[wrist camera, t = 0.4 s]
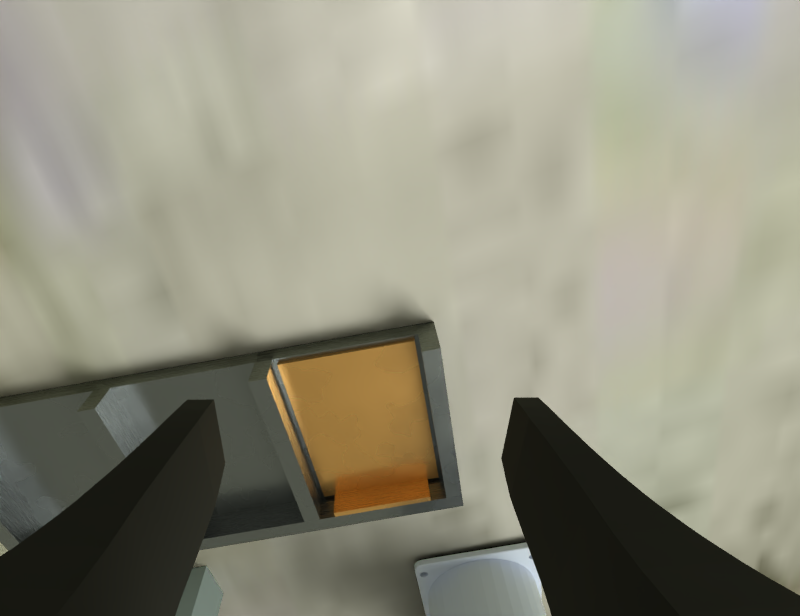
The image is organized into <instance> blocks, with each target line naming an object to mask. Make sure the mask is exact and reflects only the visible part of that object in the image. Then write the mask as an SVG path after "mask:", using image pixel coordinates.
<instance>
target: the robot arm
mask: <svg viewBox="0 0 800 616" xmlns="http://www.w3.org/2000/svg"><path fill="white" fill-rule="evenodd" d="M502 463H503V468H504V472H505V477H506V481H507V485H508V490H509V494H510V498H511V501H512V504H513V506H514V509H515V512H516V515H517V518H518V520H519V523H520V526H521V529H522V532H523V534H524V537H525V540H526V542H525V543H519V544H513V545H507V546H501V547H495V548H489V549H483V550H477V551H471V552H465V553H459V554H453V555H447V556H441V557H435V558H429V559H423V560H419V561H417V562H416V563H415V564H414V568H415V574H416V578H417V582H418V586H419V590H420V594H421V598H422V602H423V606H424V610H425V614H426V616H547V615H546V612H545V609H544V606H543V603H542V591H541V584H542V586H543V589H544V592H545V596H546V599H547V602H548V605H549V608H550V611H551V615H552V616H800V595H798V594H796V593H794V592H792V591H791V590H789V589H787V588H785V587H784V586H782V585H780V584H778V583H777V582H775V581H773V580H771V579H770V578H768V577H766V576H764V575H763V574H761V573H759V572H758V571H756V570H754V569H753V568H751V567H749V566H748V565H746V564H744V563H743V562H741V561H740V560H738V559H737V558H735V557H733V556H732V555H730V554H729V553H727V552H726V551H724V550H723V549H721V548H719V547H718V546H716V545H715V544H713V543H712V542H710V541H709V540H707V539H706V538H704V537H703V536H701V535H700V534H698V533H697V532H695V531H694V530H692V529H691V528H689V527H688V526H687V525H685V524H684V523H682V522H681V521H680V520H678V519H677V518H676V517H674V516H673V515H672V514H670V513H669V512H667V511H666V510H665V509H663V508H662V507H661V506H659V505H658V504H657V503H655V502H654V501H653V500H651V499H650V498H649V497H648V496H646V495H645V494H644V493H642V492H641V491H640V490H639V489H638V488H636V487H635V486H634V485H633V484H632V483H630V482H629V481H628V480H627V479H626V478H624V477H623V476H622V475H621V474H620V473H618V472H617V471H616V470H615V469H614V468H613V467H612V466H610V465H609V464H608V463H607V462H606V461H605V460H604V459H602V458H601V457H600V456H599V455H598V454H597V453H596V452H595V451H594V450H593V449H592V448H590V447H589V446H588V445H587V444H586V443H585V442H584V441H583V440H582V439H581V438H580V437H579V436H578V435H577V434H576V433H575V432H574V431H572V430H571V429H570V428H569V427H568V426H567V425H566V424H565V423H564V422H563V421H562V420H561V419H560V418H559V417H558V416H557V415H556V414H555V413H554V412H553V411H552V410H551V409H550V408H549V407H548V406H547V405H546V404H545V403H543V402H542V401H541V400H540V399H539V398H514V400H513V405H512V410H511V415H510V420H509V425H508V429H507V434H506V439H505V444H504V449H503V453H502ZM224 467H225V458H224V453H223V447H222V441H221V436H220V430H219V425H218V419H217V413H216V408H215V402H214V399H205V400H186V401H185V402H184V403H183V404H182V405H181V406H180V407H179V408H178V409H177V410H175V411H174V412H173V413H172V414H171V415H170V416H169V417H168V418H167V419H166V420H165V421H164V422H163V423H162V424H161V425H160V426H159V427H158V428H157V429H156V430H155V431H154V432H153V433H151V434H150V435H149V436H148V437H147V438H146V439H145V440H144V441H143V442H142V443H141V444H140V445H139V446H138V447H137V448H136V449H134V450H133V451H132V452H131V453H130V454H129V455H128V456H127V457H126V458H125V459H124V460H122V461H121V462H120V463H119V464H118V465H117V466H116V467H115V468H114V469H113V470H111V471H110V472H109V473H108V474H107V475H106V476H104V477H103V478H102V479H101V480H100V481H99V482H97V483H96V484H95V485H94V486H93V487H92V488H90V489H89V490H88V491H87V492H86V493H84V494H83V495H82V496H81V497H80V498H79V499H77V500H76V501H75V502H74V503H72V504H71V505H70V506H69V507H67V508H66V509H65V510H64V511H62V512H61V513H60V514H58V515H57V516H56V517H55V518H53V519H52V520H51V521H49V522H48V523H47V524H45V525H44V526H42V527H41V528H40V529H38V530H37V531H36V532H34V533H33V534H32V535H30V536H29V537H28V538H26V539H25V540H23V541H22V542H21V543H19V544H18V545H16V546H15V547H14V548H12V549H11V550H9V551H8V552H6V553H5V554H3V555H2V556H0V616H175V615H176V612H177V609H178V606H179V603H180V600H181V598H182V595H183V592H184V589H185V587H186V584H187V581H188V579H189V576H190V573H191V571H192V568H193V565H194V562H195V560H196V557H197V554H198V552H199V549H200V546H201V544H202V541H203V538H204V535H205V533H206V530H207V527H208V524H209V522H210V519H211V516H212V513H213V510H214V508H215V505H216V501H217V497H218V493H219V489H220V484H221V480H222V476H223V471H224Z"/></svg>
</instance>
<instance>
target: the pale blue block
mask: <svg viewBox="0 0 800 616" xmlns="http://www.w3.org/2000/svg"><path fill="white" fill-rule="evenodd" d="M222 596H223V592H222V591H221V589H220V587H219V586H218V584H217V582H216V581H215V579H214V577H213V576H212V574H211V572H210V571H209V569H208V568H207V566H203V567H197V568H192V571H191V573H190V576H189V579H188V581H187V584H186V587H185V589H184V592H183V595H182V598H181V600H180V603H179V606H178V609H177V612H176V615H175V616H218V612H219V608H220V604H221V600H222Z"/></svg>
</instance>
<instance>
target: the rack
mask: <svg viewBox="0 0 800 616" xmlns="http://www.w3.org/2000/svg"><path fill="white" fill-rule="evenodd" d="M205 399H214V402H215V408H216V413H217V419H218V425H219V430H220V436H221V441H222V447H223V453H224V458H225V467H224V471H223V476H222V480H221V484H220V489H219V493H218V497H217V501H216V505H215V508H214V510H213V513H212V516H211V519H210V522H209V524H208V527H207V530H206V533H205V535H204V538H203V541H202V544H201V546H200V549H199V550H203V549H209V548H215V547H221V546H227V545H233V544H239V543H245V542H251V541H257V540H263V539H269V538H275V537H281V536H286V535H292V534H298V533H304V532H310V531H316V530H322V529H328V528H334V527H340V526H346V525H352V524H358V523H364V522H370V521H376V520H381V519H387V518H393V517H399V516H405V515H411V514H417V513H423V512H429V511H435V510H441V509H447V508H453V507H459V506H463V501H462V494H461V487H460V480H459V473H458V466H457V459H456V452H455V445H454V438H453V431H452V424H451V418H450V411H449V404H448V397H447V390H446V383H445V376H444V369H443V362H442V355H441V348H440V345H439V341H438V337H437V333H436V329H435V325H434V322H429V323H424V324H418V325H412V326H406V327H401V328H395V329H389V330H384V331H378V332H372V333H367V334H361V335H355V336H350V337H344V338H338V339H332V340H327V341H321V342H315V343H310V344H304V345H298V346H293V347H287V348H281V349H276V350H270V351H264V352H258V353H253V354H247V355H241V356H236V357H230V358H224V359H219V360H213V361H207V362H201V363H196V364H190V365H184V366H179V367H173V368H167V369H162V370H156V371H150V372H145V373H139V374H133V375H127V376H122V377H116V378H110V379H105V380H99V381H93V382H88V383H82V384H76V385H70V386H65V387H59V388H53V389H48V390H42V391H36V392H31V393H25V394H19V395H14V396H8V397H2V398H0V542H1V543H2V544H3V545H4V546H5V547H6V548H7V550H8V551H9V550H11V549H12V548H14V547H15V546H16V545H18V544H19V543H21V542H22V541H23V540H25V539H26V538H28V537H29V536H30V535H32V534H33V533H34V532H36V531H37V530H38V529H40V528H41V527H42V526H44V525H45V524H47V523H48V522H49V521H51V520H52V519H53V518H55V517H56V516H57V515H58V514H60V513H61V512H62V511H64V510H65V509H66V508H67V507H69V506H70V505H71V504H72V503H74V502H75V501H76V500H77V499H79V498H80V497H81V496H82V495H83V494H84V493H86V492H87V491H88V490H89V489H90V488H92V487H93V486H94V485H95V484H96V483H97V482H99V481H100V480H101V479H102V478H103V477H104V476H106V475H107V474H108V473H109V472H110V471H111V470H113V469H114V468H115V467H116V466H117V465H118V464H119V463H120V462H121V461H122V460H124V459H125V458H126V457H127V456H128V455H129V454H130V453H131V452H132V451H133V450H134V449H136V448H137V447H138V446H139V445H140V444H141V443H142V442H143V441H144V440H145V439H146V438H147V437H148V436H149V435H150V434H151V433H153V432H154V431H155V430H156V429H157V428H158V427H159V426H160V425H161V424H162V423H163V422H164V421H165V420H166V419H167V418H168V417H169V416H170V415H171V414H172V413H173V412H174V411H175V410H177V409H178V408H179V407H180V406H181V405H182V404H183V403H184V402H185V401H186V400H205Z"/></svg>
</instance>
